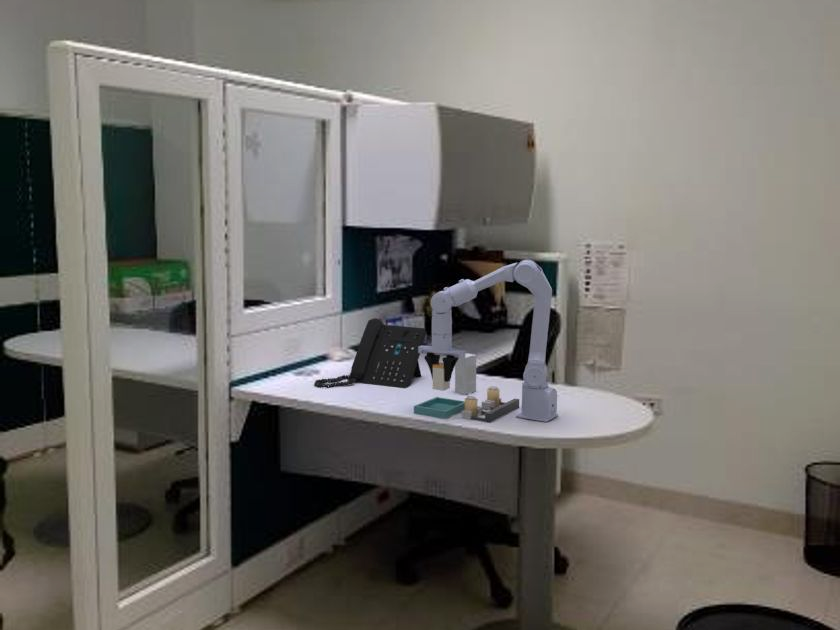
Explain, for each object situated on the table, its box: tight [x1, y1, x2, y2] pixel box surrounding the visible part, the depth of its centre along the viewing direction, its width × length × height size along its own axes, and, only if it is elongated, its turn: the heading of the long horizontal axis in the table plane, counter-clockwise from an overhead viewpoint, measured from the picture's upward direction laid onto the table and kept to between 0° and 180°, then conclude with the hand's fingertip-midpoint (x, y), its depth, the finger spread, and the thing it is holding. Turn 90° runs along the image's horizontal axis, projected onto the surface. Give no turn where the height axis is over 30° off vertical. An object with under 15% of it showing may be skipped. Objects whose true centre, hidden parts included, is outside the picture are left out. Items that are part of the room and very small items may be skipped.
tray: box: [413, 396, 465, 420], centre depth 230 cm, size 11×13×2 cm
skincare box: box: [454, 352, 477, 396], centre depth 251 cm, size 6×4×12 cm
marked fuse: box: [432, 361, 451, 392], centre depth 228 cm, size 4×4×7 cm
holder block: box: [461, 397, 520, 424], centre depth 228 cm, size 9×19×2 cm, turn 148°
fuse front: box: [464, 395, 479, 417], centre depth 224 cm, size 4×4×6 cm
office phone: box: [313, 317, 427, 389], centre depth 264 cm, size 29×28×20 cm
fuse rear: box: [486, 386, 501, 407], centre depth 235 cm, size 4×4×6 cm
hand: (441, 380), depth 229 cm, fingers closed on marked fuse, 4 cm apart
